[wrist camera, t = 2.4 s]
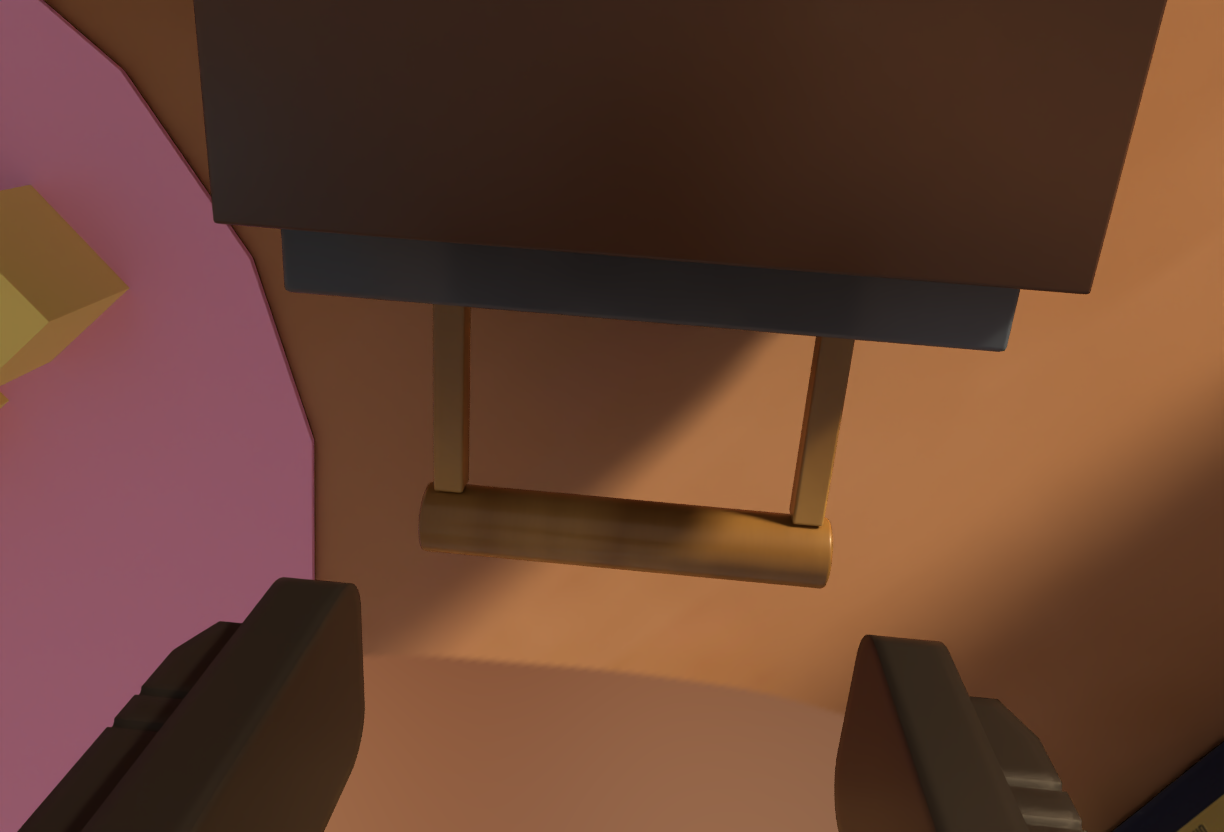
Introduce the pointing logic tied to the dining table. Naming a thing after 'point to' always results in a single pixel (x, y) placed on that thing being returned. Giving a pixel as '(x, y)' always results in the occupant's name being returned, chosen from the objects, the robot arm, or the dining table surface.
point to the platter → (122, 407)
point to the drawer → (655, 295)
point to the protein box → (1186, 801)
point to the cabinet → (688, 128)
